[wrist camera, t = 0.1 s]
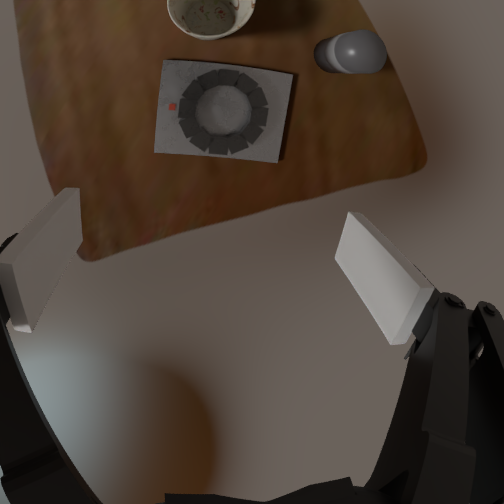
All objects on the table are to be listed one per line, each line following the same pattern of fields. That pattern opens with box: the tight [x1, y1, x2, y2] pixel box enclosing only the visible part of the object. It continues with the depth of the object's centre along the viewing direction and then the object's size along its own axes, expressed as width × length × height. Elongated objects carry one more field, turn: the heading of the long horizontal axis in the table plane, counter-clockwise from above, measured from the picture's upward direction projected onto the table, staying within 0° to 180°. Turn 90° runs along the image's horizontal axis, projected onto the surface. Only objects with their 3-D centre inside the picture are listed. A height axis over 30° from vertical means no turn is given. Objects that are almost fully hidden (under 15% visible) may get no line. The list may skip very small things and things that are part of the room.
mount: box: [154, 60, 293, 163], centre depth 36 cm, size 12×16×3 cm
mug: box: [167, 0, 255, 40], centre depth 26 cm, size 8×13×10 cm, turn 121°
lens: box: [314, 30, 387, 73], centre depth 31 cm, size 5×5×10 cm
